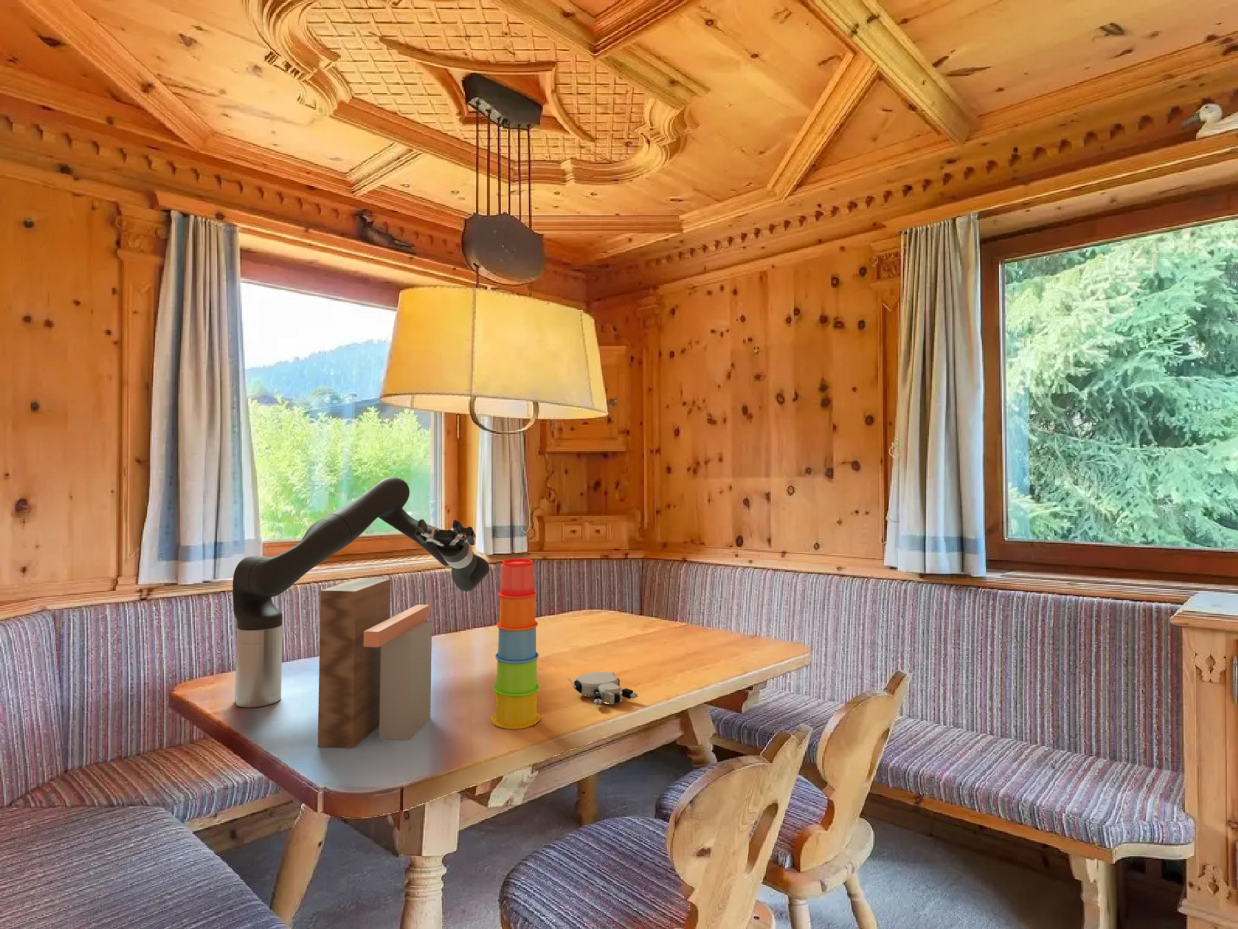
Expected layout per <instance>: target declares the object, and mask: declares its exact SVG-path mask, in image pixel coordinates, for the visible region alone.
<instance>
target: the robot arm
mask: <svg viewBox="0 0 1238 929" xmlns="http://www.w3.org/2000/svg"><path fill="white" fill-rule="evenodd" d="M410 491H411V490H410V487H409V484H408V482H406V481H405V480H404V479H401V478H399V477H393V476H392V477H391V476H390V477H386V478H383V479H382V480H380V481H379V482H378V483H377V484H375V485H374V486H373V487H371V488H370V489H369V490H368V491H366V492H365V493H363V494H362V495H360V496H359V497H357V498H355V499H354V500H351V501H350V502H347V503H346V504H345V505H343V506H341V507H339V508H338V509H337V510H336V509H335V510H334V511H333V512H331V513H329V514H328V515H326V516H323V517H322V518H321V519H319V520H317V521H315V522H314V523H313V524H312V525H311V526H309V528H308V529H307V530H306V532H305V533H304V535H303V537H302V538H301V540H300V541H299V542H298V543H297V544H296V545H294V546H292V547H291V548H289V549H287V550H285V551H284V552H282V553H280V554H277V555H274V556H265V555H264V556H262V555H249V556H247V557H244V558H243V559H241V560H240V561H239V562H238V564H236V566H235V570H234V572H233V577H232V602H233V603H232V604H233V605H232V608H233V614H234V618H235V619H236V622H237V623H236V626H237V628H236V660H235V686H234V687H235V689H234V691H235V693H234V694H235V696H234V697H235V699H234V700H235V706H236V707H237V706H238V707H241V708H258V707H265V706H269V705H272V704H276V703H277V702H279V701H280V700H281V699H282V668H283V666H282V665H283V616H284V615H283V613H282V612H281V611H280V610H279V609H278V608H277V606H276V605H274V603H273V600H272V598H274V597H277V596H279V595H281V594H282V593H285V591H287V590H288V589H289V588H290V587H292V586H293V585H294V584H295V583H296V582H298V581H299V580H300V579H301V578H302V577H303V576H304V575H306V574H307V573H308V572H309V571H311V570H312V569H314V568H315V567H317V566H319V564H321V563H323V562H325V561H326V560H327V559H328V558H330V557H331V556H333V555H335V554H336V553H338V552H340V551H341V550H343V549H344V548H345V547H348V545H350V544H351V543H353V542H354V541H355V540H357V538H358V537H360V536H361V535H362V534H363V532H365V531H366V530H367V529H368V528H369V527H370V526H371V525H372V524H373V523H374V521H375V520H376V519H380V520H381V521H383V522H385V523H386V524H388V525H389V526H391V528H394V529H396V530H397V531H399V532H400V533H402V534H403V535H405V536H406V537H408V539H411V540H412V541H413V542H416V543H417V544H418V545H419V546H420V547H421V548H423V549H424V550H425V551H427V552H428V553H429V554H430V555H431V556H432V557H433V558H435V559H436V560H437V561H438V562H439V563H440V564H441V565H442V566H444V567H448V566H449V567H450V568H451V576H452V580H453V583H454V584H455V586H456V587H457V589H459V590H460V591H462V592H471V591H473V590H474V589H475V588H476V587H477V586H478V585H479V584H480V583H481V581H483V580H484V579H485V577H487V575H488V574H489V572H490V568H491V567H490V565H489V562H488V561H487V560H486V559H485V558H483V557H482V556H480V555H477V554H475V553H474V552H473V551H474V550H473V549H472V546H474V545H475V542H476V538H477V537H476V534H475V531H474V528H473V526H467V527H465V525H462V523H461V521H459V520H458V519H453V522H452V529H441V528H438V527H436V526H434V525H430V524H428V523H426V521H425V519H424V518H420V519H419V520H417V519H415V518H414V517H412V516H411V515H410V514H408V513H407V511H405V509H404V508H403V507H405V505H406V503H407V502H408V500H409V499H410V498H409V497H410V494H411V493H410Z"/></svg>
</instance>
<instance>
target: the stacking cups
mask: <svg viewBox="0 0 1238 929" xmlns="http://www.w3.org/2000/svg"><path fill="white" fill-rule="evenodd" d="M497 593H498V594H497V595H498V596H499V617H498V618H499V621H498V622H497V623H496V627H497V628H498V643H497V644H498V645H497V653H496V654H495V659H496V661H497V662H496V663H497V664H496V683H495V684H494V685H493V688H492V689H493V692H494V693H495V706H494V708H495V710H494V711H495V712H494V714H493V715H492V717H491V723H492V724H493V725H494V726H496V727H498V728H501V729H504V728H505V730H522V729H521V728H523V729H528V728H530V727H529V726H531V727H533V726H535V725H536V723H537V722H538V721H539V722H540V720H541V716H540V714H539V713H538V708H537V707H538V692H539V690H540V687H541V686H540V684H539V683H538V682H537V679H538V678H537V673H538V672H537V670H538V669H537V668H538V663H537V662H538V661H537V659H538V658H539V655H540V654H539V652H537V627H538V624H539V623H538V621H536V595H537V591H536V590H535V564H534V562H533V560H532V559H530V558H520V557H519V558H518V557H517V558H508V559H507V558H506V559H504V560H502V563H501V564H500V591H499V592H497ZM539 722H538V723H539ZM538 723H537V724H538ZM534 724H535V725H534ZM532 725H533V726H532ZM527 727H528V728H527Z"/></svg>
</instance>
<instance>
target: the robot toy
mask: <svg viewBox="0 0 1238 929" xmlns="http://www.w3.org/2000/svg"><path fill="white" fill-rule="evenodd" d="M567 679H568V681H569V683H570V684H571V685H572V687H573V689H574V690H575V691H577V692H578V693H579V694H581V695H582V696H584V695H586V696H590V697H592V698H593V704H595V705H601V704H603V702H607V703H609V704H614V703H617V704H620V703H619V702H623V700H622V699H623V698H626V699H629V700H631V699H636V698H638V697H639V695H638V693H637V692H634V690H632V689H630V688H626V687H625V688H622V687H621V686H620V685H621V682H620V681H621V680H620V678H619V677H618V676H616V674H615V672H614V671H612V670H611V672H607V671H595V672H587V673H584V674H580V675H578V676H577V677H576V678H575V680H574V681H573V682H572V680H571V677H568V678H567ZM586 696H585V697H586ZM614 705H615V704H614Z"/></svg>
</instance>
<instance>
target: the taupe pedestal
mask: <svg viewBox="0 0 1238 929" xmlns="http://www.w3.org/2000/svg"><path fill="white" fill-rule="evenodd" d="M432 632H433V621H432V620H425V621H423V622H421V623H419V624H418V625H416V626H414V627H412V628H411V629H409V630H407V631H406V632H404V633H402V634H400V635H399V636H397V637H395V638H393V639H392V640H390V641H388V642H386V643H385V644H383V645H381V665H380V722H379V727H378V728H379V731H378V734H379V735H378V736H379V737H378V739H379V740H394V741H395V740H396V741H397V740H398V741H409V740H411V738H412V737H413V736H415V735H416V733H418V731H420V729H422V727H423V726H424V725H425V724H427V723H428V722H429V721H430V719H431V708H432V706H431V704H432V701H431V700H432V699H431V698H432V687H431V686H432V646H433V645H432V644H433V643H432V639H433V633H432Z"/></svg>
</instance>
